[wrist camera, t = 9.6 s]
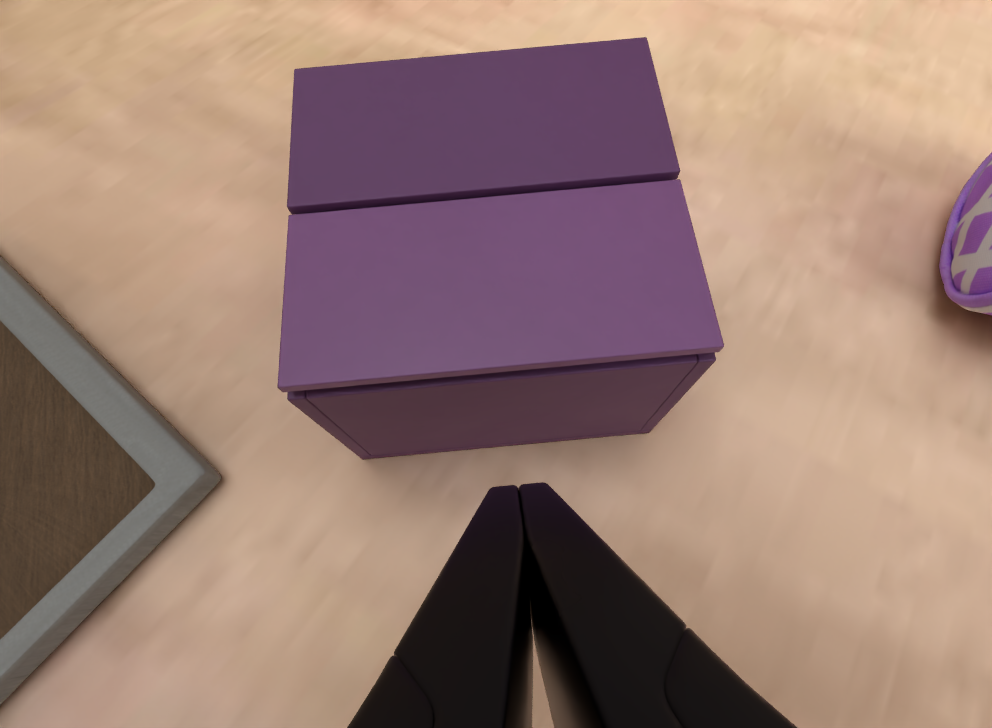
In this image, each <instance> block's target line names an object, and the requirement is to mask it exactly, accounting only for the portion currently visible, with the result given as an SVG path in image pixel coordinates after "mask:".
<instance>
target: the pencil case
mask: <svg viewBox="0 0 992 728" xmlns="http://www.w3.org/2000/svg"><path fill="white" fill-rule="evenodd" d="M939 269H940V274H941V278H942V282H943V283H944V290H945V292H946V294H947V296H948V297H949V298H950V299H951V300H952V301H953V302H955V303H957V304H958V305H959V306H961V307H963V308H964V309H966V310H970V311H974V312H980V313H984V314H988V315H992V152H991V154H990V155H989V156H988V157H987V158H986V159H985V160H984V161H983V162H982V164H981V165H980V166H979V167H978V169H977V170H976V171H975V172H974V174H973V175H972V176H971V178H970V179H969V180H968V182H967V183H966V184H965V186H964V187H963V189H962V191H961V193H960V195H959V196H958V198H957V200H956V202H955V204H954V206H953V209H952V212H951V215H950V218H949V220H948V223H947V228H946V232H945V237H944V243H943V245H942V247H941V255H940V263H939Z"/></svg>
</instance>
